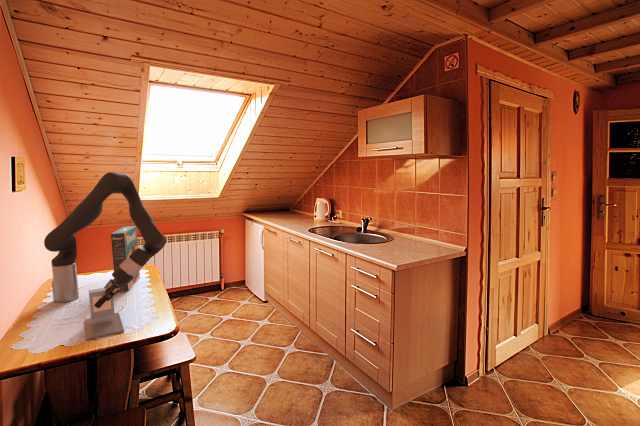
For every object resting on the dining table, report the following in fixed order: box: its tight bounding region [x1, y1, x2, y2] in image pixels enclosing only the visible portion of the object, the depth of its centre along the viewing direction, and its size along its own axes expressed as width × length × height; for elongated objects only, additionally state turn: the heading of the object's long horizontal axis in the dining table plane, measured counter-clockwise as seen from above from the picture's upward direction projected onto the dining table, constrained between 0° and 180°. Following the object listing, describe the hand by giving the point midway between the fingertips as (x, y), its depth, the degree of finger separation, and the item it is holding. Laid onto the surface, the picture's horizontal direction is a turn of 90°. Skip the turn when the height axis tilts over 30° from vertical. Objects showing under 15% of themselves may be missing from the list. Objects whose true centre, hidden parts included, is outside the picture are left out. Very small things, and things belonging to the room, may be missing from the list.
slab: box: [88, 287, 116, 320], centre depth 143 cm, size 8×4×11 cm, turn 124°
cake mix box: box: [110, 225, 141, 293], centre depth 188 cm, size 22×6×30 cm, turn 13°
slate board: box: [84, 312, 125, 342], centre depth 140 cm, size 20×12×1 cm, turn 35°
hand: (96, 304), depth 142 cm, fingers closed on slab, 4 cm apart
